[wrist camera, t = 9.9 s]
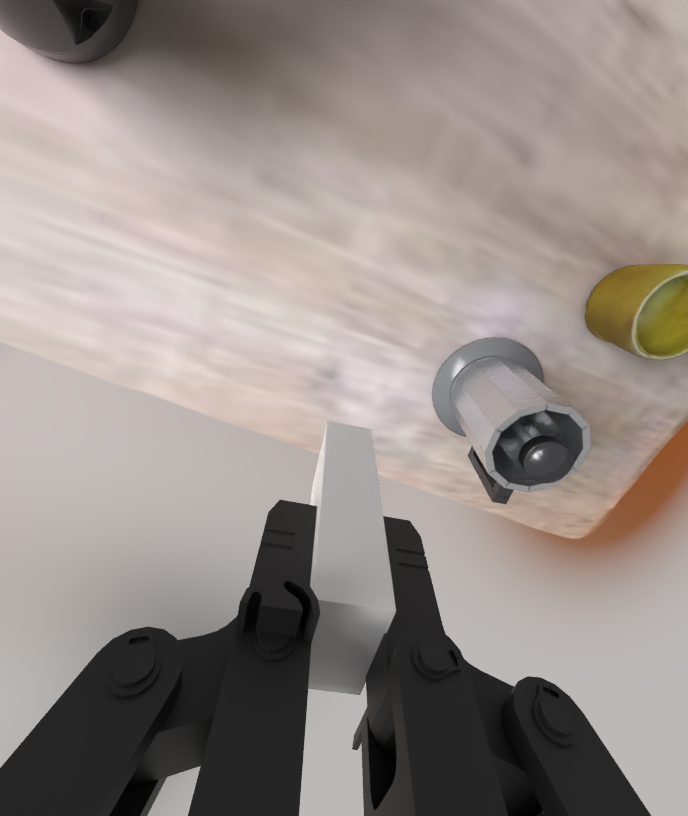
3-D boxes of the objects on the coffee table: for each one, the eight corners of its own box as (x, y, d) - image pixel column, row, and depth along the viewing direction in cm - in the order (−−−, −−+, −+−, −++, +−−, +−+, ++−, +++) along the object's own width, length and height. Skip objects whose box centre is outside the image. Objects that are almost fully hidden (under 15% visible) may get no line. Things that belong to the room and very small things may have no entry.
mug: (557, 340, 44) (644, 345, 35) (590, 254, 43) (689, 235, 34) (624, 370, 49) (719, 381, 39) (656, 292, 47) (761, 284, 38)
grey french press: (465, 348, 46) (510, 394, 34) (539, 364, 47) (610, 415, 35) (432, 436, 52) (460, 504, 39) (498, 449, 53) (547, 520, 40)
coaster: (453, 326, 46) (454, 327, 45) (559, 350, 47) (562, 352, 46) (418, 425, 52) (419, 427, 51) (513, 444, 53) (515, 446, 52)
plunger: (480, 370, 44) (531, 426, 32) (534, 382, 45) (604, 441, 33) (460, 420, 47) (500, 488, 35) (510, 430, 48) (567, 501, 36)
